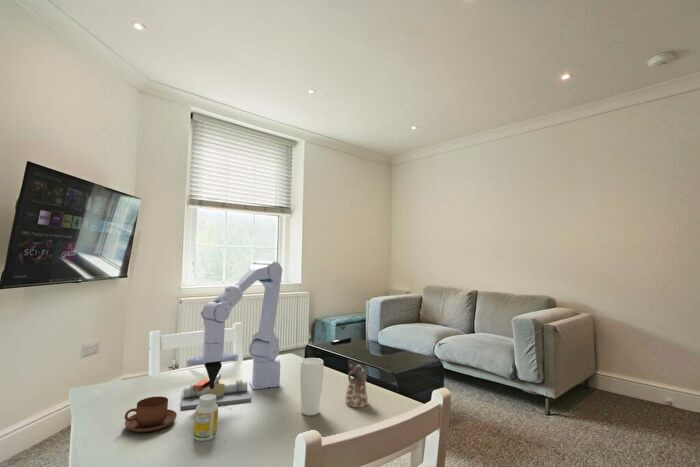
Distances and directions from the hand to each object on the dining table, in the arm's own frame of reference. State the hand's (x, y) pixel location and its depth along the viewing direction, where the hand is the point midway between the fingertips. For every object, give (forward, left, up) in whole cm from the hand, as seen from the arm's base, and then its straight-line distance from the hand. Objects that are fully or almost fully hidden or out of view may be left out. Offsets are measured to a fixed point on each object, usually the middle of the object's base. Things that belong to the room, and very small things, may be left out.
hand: (211, 387), depth 108 cm
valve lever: (+1, -3, 0) cm, 3 cm away
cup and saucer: (+15, +8, -6) cm, 18 cm away
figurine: (-43, +12, -6) cm, 45 cm away
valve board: (-2, -7, -6) cm, 9 cm away
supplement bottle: (+2, +19, -6) cm, 20 cm away
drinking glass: (-27, +14, -6) cm, 31 cm away
